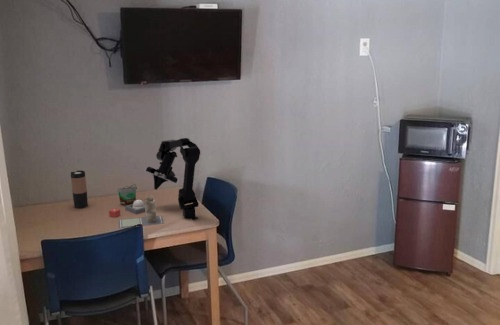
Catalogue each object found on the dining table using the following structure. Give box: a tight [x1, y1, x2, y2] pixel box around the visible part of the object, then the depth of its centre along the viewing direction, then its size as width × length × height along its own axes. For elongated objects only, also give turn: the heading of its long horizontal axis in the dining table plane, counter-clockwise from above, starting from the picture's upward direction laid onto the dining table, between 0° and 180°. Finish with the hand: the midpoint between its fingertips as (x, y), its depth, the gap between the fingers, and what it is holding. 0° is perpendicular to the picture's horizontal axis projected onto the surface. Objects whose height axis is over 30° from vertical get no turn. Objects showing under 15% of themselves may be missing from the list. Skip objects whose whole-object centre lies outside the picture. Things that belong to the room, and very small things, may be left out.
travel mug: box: [70, 170, 89, 209], centre depth 264 cm, size 8×8×20 cm
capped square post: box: [144, 194, 157, 223], centre depth 239 cm, size 4×4×13 cm
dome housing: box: [124, 202, 145, 215], centre depth 257 cm, size 10×10×3 cm
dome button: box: [133, 199, 145, 209], centre depth 257 cm, size 6×6×6 cm
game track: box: [118, 215, 165, 229], centre depth 240 cm, size 22×12×1 cm, turn 106°
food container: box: [117, 183, 138, 206], centre depth 269 cm, size 12×6×10 cm, turn 143°
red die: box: [108, 208, 121, 218], centre depth 248 cm, size 4×4×4 cm
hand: (155, 189), depth 253 cm, fingers closed
